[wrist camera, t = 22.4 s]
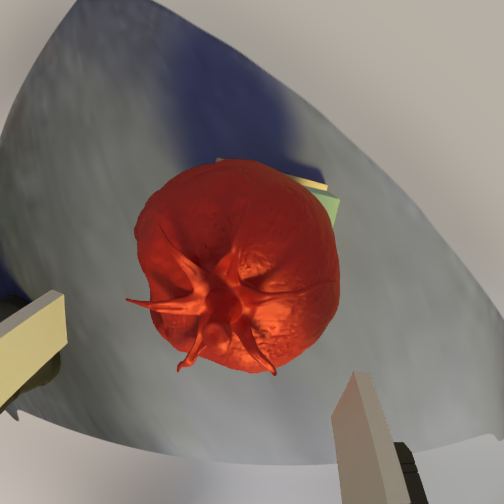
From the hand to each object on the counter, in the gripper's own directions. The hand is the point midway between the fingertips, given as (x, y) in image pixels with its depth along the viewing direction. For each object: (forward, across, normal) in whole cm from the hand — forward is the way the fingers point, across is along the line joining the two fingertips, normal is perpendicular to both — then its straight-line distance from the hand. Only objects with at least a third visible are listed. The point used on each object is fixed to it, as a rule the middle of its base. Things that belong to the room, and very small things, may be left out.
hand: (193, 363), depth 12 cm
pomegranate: (+7, +1, +3) cm, 8 cm away
